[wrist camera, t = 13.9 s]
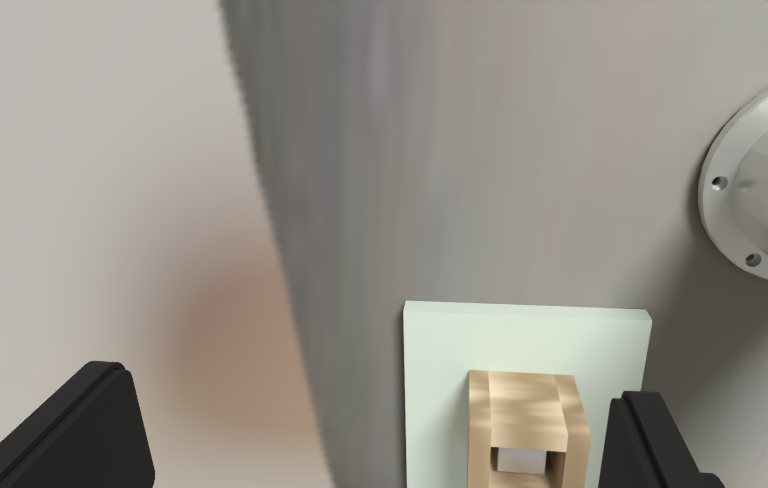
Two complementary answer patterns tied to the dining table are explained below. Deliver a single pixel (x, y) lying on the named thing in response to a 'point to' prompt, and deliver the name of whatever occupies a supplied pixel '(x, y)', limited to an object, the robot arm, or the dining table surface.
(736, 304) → the dining table surface
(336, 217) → the dining table surface
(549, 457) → the maple collar
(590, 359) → the post board
